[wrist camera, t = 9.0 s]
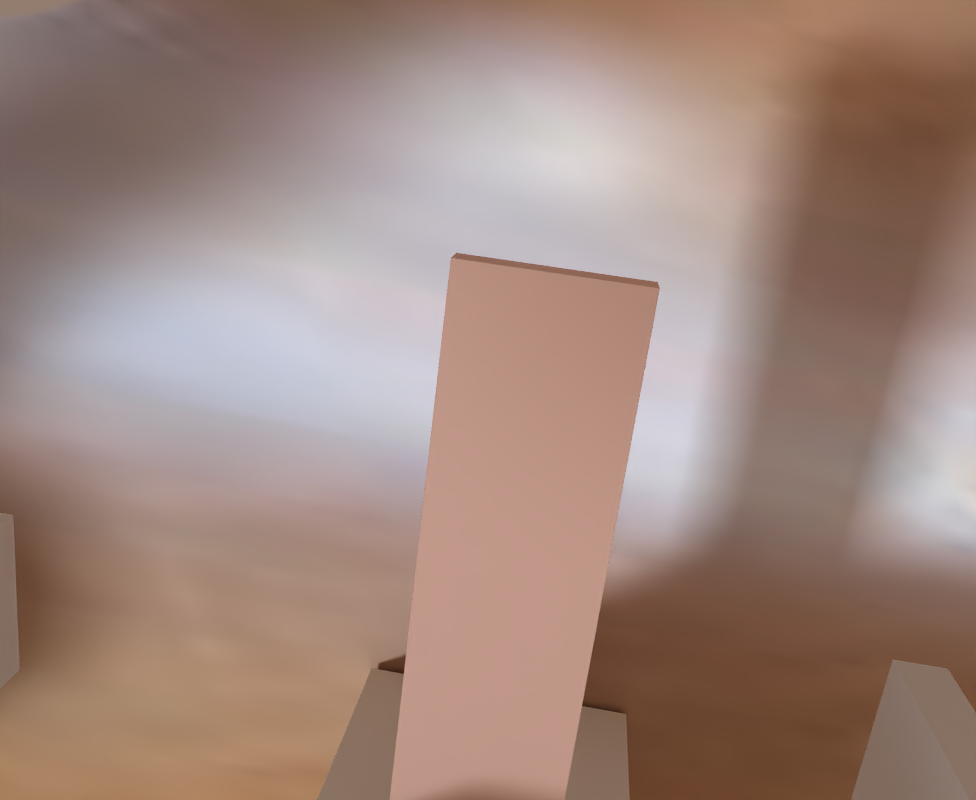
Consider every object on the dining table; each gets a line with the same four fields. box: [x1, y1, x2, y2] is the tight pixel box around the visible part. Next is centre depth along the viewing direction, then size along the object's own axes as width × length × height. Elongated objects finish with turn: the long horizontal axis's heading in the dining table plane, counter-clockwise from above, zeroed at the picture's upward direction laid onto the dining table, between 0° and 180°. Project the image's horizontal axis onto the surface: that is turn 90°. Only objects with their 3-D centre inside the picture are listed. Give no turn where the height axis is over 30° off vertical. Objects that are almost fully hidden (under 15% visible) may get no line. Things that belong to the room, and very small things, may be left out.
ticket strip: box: [390, 253, 660, 800], centre depth 30 cm, size 6×24×1 cm, turn 173°
